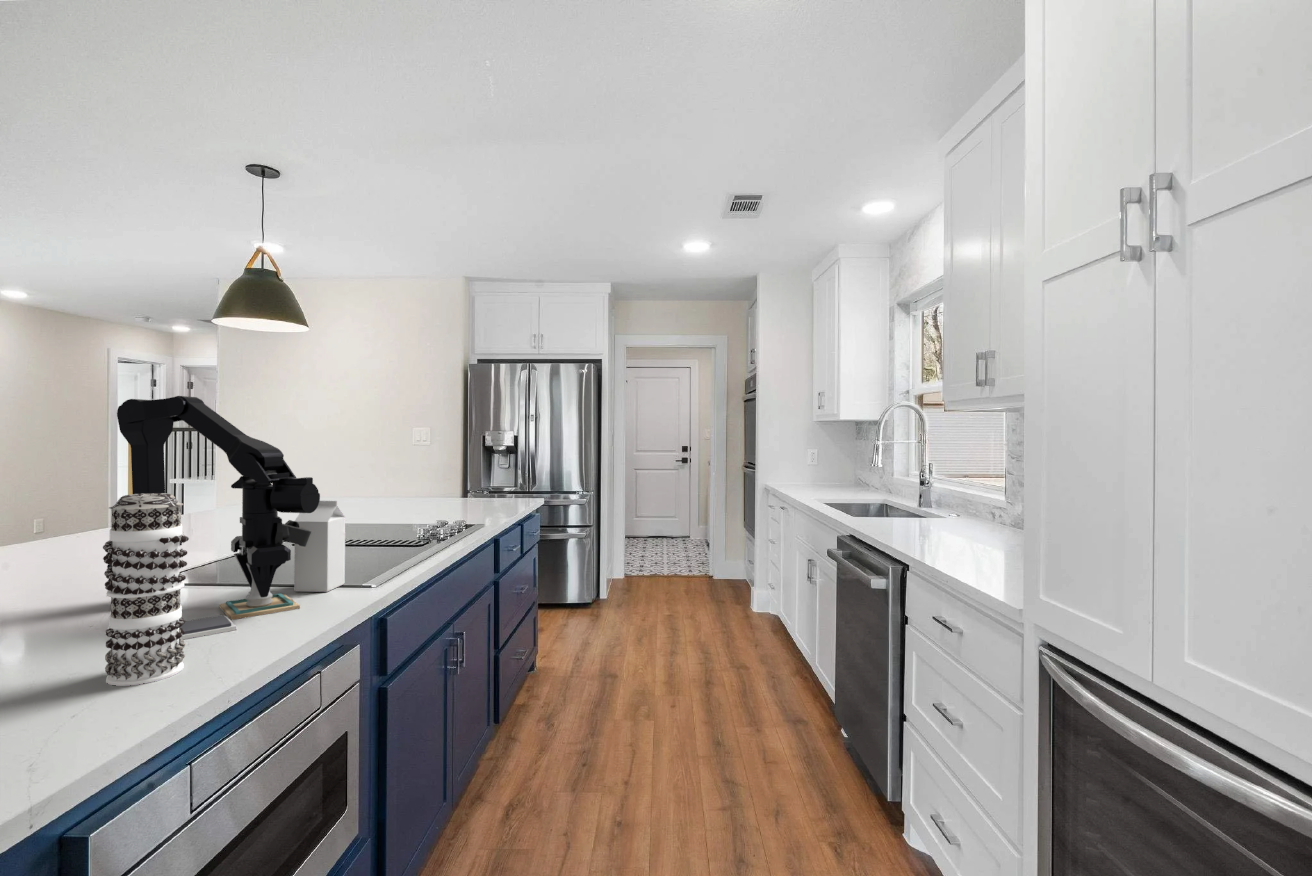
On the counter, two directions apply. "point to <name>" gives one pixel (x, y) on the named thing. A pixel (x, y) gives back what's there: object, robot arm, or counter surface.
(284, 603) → the print board
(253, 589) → the rook chess piece
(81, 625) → the counter surface
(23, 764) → the counter surface
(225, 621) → the ink pad
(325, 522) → the milk carton
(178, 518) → the decorative candle
